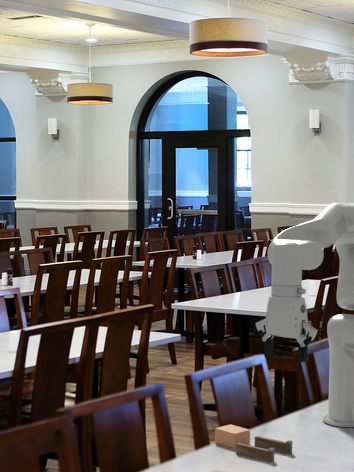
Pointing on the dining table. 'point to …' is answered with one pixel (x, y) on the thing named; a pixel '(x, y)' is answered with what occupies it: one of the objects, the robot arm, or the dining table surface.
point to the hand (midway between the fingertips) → (285, 359)
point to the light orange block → (232, 435)
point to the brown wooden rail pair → (264, 448)
